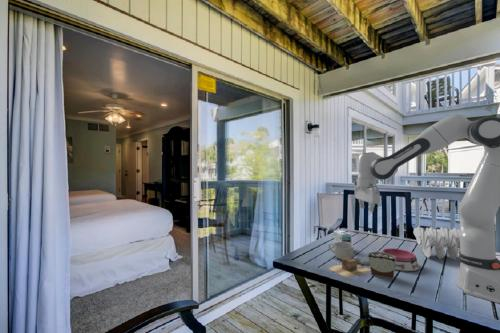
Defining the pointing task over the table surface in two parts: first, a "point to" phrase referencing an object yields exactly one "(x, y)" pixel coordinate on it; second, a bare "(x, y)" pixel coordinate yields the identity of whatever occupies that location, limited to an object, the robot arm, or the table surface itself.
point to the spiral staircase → (438, 241)
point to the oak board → (346, 273)
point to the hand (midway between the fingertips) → (366, 209)
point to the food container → (382, 264)
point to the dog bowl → (403, 260)
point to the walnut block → (349, 264)
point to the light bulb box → (342, 236)
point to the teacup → (342, 249)
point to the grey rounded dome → (363, 261)
